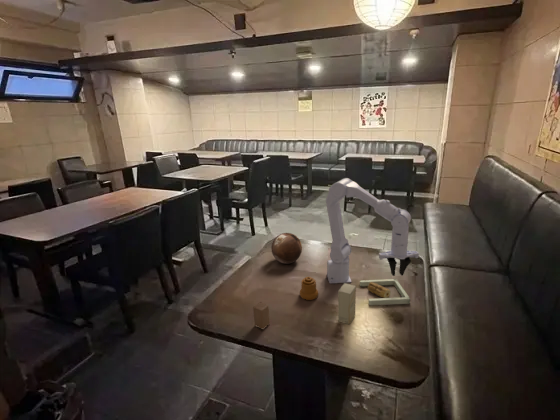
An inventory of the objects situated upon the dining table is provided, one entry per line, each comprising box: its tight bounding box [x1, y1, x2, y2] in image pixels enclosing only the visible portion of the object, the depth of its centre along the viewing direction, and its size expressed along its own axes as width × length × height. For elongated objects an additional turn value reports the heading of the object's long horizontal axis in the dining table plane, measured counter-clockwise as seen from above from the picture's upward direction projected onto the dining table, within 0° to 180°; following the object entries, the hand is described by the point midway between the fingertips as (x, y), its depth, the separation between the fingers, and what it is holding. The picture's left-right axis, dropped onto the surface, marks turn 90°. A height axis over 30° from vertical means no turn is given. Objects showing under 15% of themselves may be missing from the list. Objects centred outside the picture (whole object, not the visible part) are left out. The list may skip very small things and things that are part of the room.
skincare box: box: [337, 283, 357, 325], centre depth 106 cm, size 6×4×12 cm
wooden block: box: [252, 301, 271, 328], centre depth 105 cm, size 4×4×8 cm
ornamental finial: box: [299, 276, 319, 301], centre depth 121 cm, size 8×8×8 cm
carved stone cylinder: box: [367, 282, 391, 298], centre depth 120 cm, size 8×4×4 cm, turn 34°
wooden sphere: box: [271, 232, 303, 265], centre depth 149 cm, size 15×15×15 cm
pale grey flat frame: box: [359, 278, 411, 306], centre depth 121 cm, size 15×14×2 cm
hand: (397, 274), depth 118 cm, fingers open, 3 cm apart
